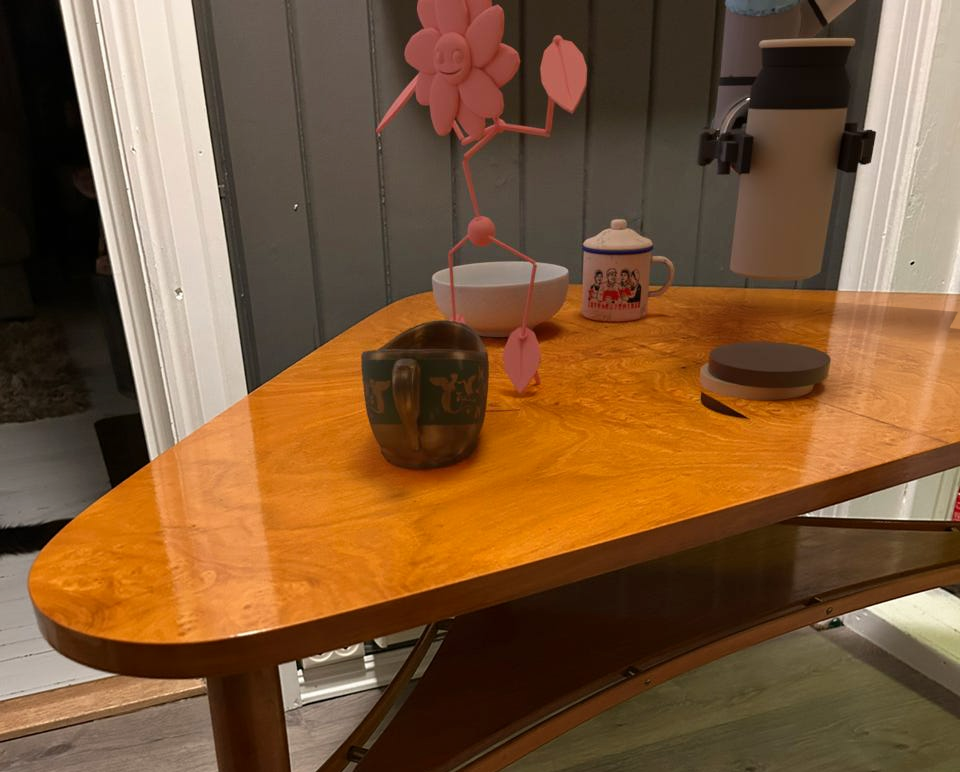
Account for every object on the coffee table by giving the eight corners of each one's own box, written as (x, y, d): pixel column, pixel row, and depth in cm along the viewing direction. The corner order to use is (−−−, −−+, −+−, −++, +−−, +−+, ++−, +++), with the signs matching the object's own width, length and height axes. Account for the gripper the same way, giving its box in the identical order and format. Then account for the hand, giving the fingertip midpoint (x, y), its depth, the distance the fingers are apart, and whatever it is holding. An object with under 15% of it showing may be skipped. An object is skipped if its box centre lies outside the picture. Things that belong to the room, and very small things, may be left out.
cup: (295, 467, 78) (279, 344, 73) (434, 404, 92) (429, 297, 87) (420, 497, 72) (412, 364, 66) (549, 424, 86) (550, 310, 81)
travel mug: (808, 284, 81) (848, 37, 71) (718, 277, 84) (745, 40, 75) (828, 269, 87) (867, 39, 77) (743, 263, 90) (770, 41, 81)
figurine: (425, 355, 108) (406, -11, 90) (608, 395, 94) (629, -35, 75) (323, 385, 99) (279, -19, 81) (509, 434, 84) (506, -47, 66)
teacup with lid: (578, 322, 121) (582, 225, 115) (580, 307, 129) (583, 215, 123) (672, 323, 120) (681, 224, 114) (669, 308, 128) (676, 215, 122)
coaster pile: (779, 381, 96) (785, 336, 94) (846, 413, 87) (855, 364, 85) (678, 392, 94) (682, 347, 91) (736, 427, 84) (742, 377, 82)
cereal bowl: (513, 310, 128) (512, 255, 125) (595, 331, 117) (597, 271, 113) (409, 329, 120) (405, 271, 116) (486, 354, 108) (485, 290, 105)
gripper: (661, 97, 95) (675, 104, 75) (873, 93, 92) (944, 98, 73) (655, 180, 99) (667, 206, 79) (858, 178, 96) (922, 204, 77)
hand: (800, 154), depth 76 cm, fingers closed on travel mug, 8 cm apart
